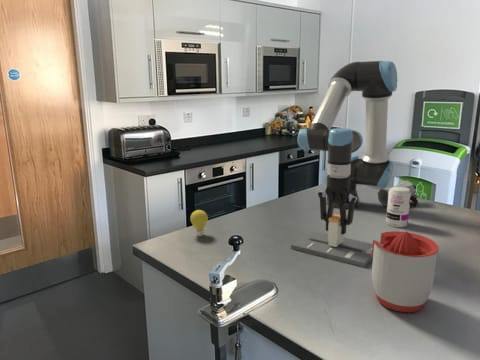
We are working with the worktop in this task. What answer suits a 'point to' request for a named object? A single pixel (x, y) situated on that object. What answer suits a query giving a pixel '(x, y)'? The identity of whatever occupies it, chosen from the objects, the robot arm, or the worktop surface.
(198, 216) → the light bulb
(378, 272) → the citrus juicer
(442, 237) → the worktop surface
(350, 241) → the fader panel
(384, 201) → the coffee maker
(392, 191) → the supplement can
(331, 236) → the fader knob
